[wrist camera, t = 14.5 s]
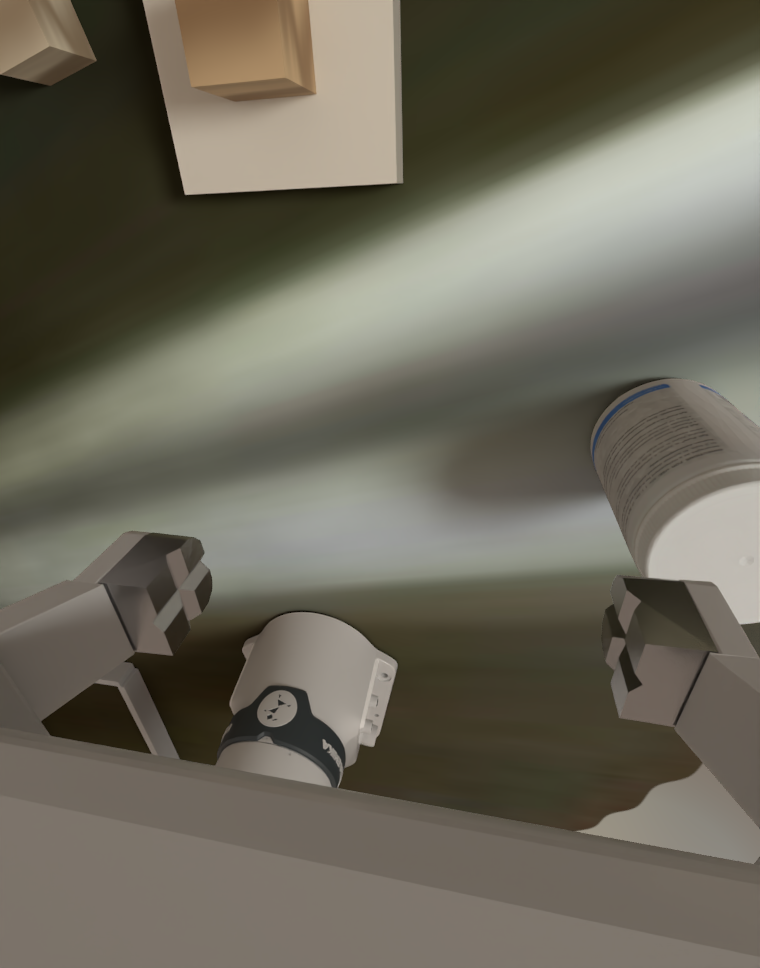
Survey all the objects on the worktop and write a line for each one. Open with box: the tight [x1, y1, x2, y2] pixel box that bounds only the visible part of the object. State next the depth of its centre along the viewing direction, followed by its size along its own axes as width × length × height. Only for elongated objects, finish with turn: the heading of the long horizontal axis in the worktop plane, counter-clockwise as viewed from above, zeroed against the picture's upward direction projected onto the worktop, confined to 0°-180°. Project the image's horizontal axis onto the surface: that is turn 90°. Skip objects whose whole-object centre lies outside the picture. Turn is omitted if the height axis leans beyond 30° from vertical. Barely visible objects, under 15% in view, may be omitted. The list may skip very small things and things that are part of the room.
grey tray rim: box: [95, 662, 179, 759], centre depth 74 cm, size 28×26×3 cm
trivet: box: [143, 0, 403, 195], centre depth 28 cm, size 14×14×2 cm
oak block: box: [175, 0, 317, 102], centre depth 25 cm, size 5×5×5 cm
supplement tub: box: [590, 379, 760, 624], centre depth 30 cm, size 10×10×15 cm
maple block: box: [0, 0, 97, 86], centre depth 29 cm, size 4×4×4 cm
